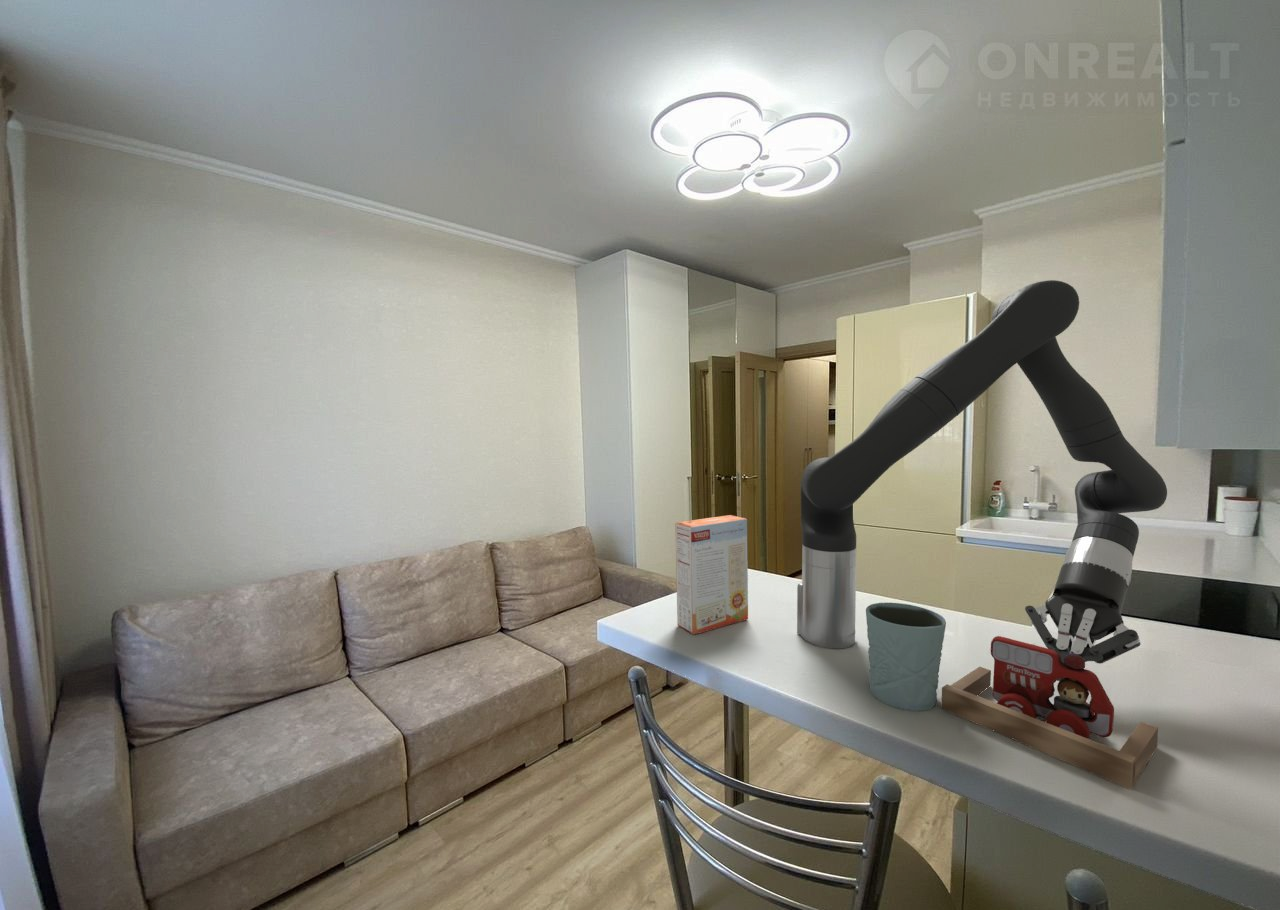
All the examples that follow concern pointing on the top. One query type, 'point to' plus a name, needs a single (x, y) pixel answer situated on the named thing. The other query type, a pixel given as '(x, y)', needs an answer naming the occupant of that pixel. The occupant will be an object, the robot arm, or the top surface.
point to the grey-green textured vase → (904, 654)
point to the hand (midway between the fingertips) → (1062, 680)
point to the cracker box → (711, 572)
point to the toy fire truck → (1050, 687)
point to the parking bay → (1051, 733)
